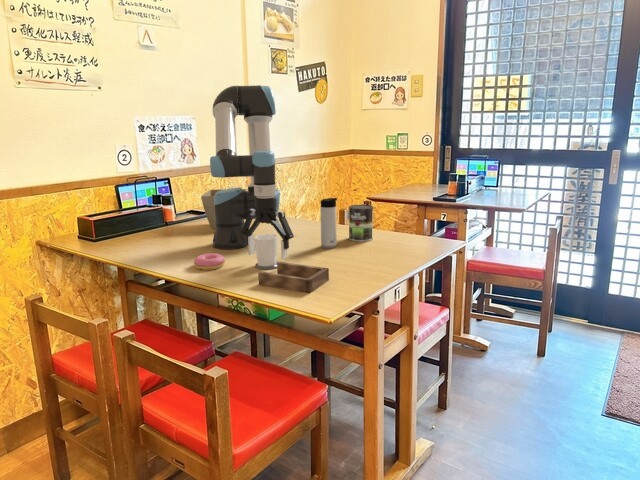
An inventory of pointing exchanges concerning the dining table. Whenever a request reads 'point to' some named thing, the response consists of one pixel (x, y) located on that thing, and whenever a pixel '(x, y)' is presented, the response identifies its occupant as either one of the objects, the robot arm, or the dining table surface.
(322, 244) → the travel mug
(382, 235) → the dining table surface
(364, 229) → the coffee can
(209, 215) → the flower pot
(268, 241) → the white cup
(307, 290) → the brown wooden tray
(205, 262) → the doughnut
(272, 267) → the coaster
